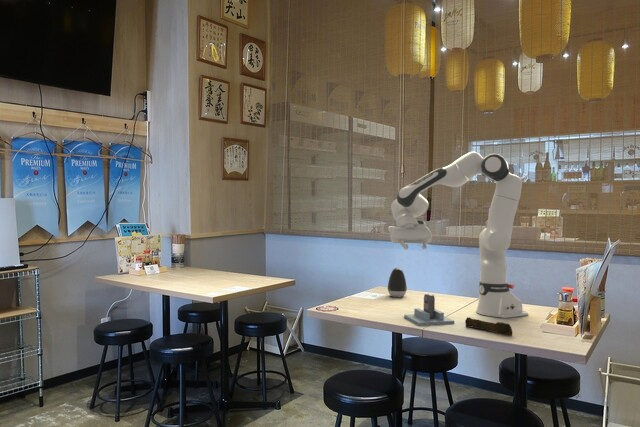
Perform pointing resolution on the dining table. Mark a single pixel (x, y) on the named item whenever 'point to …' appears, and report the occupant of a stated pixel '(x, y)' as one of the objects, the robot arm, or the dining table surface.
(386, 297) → the dining table surface
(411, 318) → the keeper
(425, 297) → the end link
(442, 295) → the dining table surface
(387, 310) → the dining table surface
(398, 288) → the black egg shape
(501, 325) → the dark brown bar
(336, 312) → the dining table surface
